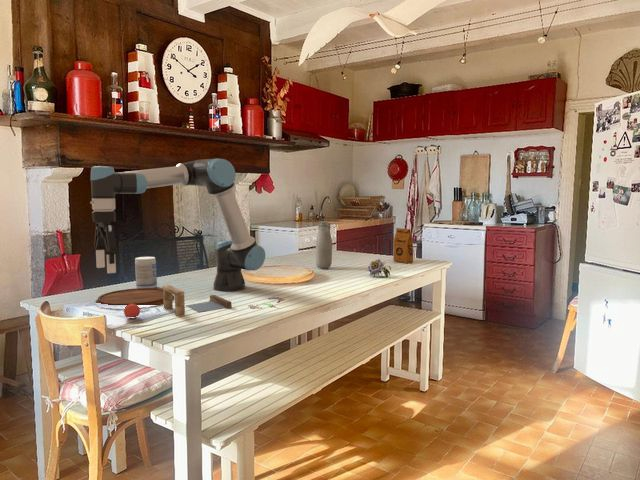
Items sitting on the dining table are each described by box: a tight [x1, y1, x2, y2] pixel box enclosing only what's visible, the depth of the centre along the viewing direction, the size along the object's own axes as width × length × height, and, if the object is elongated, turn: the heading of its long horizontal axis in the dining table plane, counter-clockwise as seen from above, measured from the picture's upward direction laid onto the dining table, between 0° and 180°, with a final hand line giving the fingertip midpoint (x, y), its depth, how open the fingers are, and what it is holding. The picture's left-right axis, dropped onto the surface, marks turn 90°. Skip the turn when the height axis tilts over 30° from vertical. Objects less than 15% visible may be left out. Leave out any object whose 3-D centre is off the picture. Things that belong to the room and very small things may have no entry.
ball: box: [123, 304, 141, 318], centre depth 181 cm, size 6×6×6 cm
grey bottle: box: [315, 221, 333, 270], centre depth 288 cm, size 10×10×28 cm
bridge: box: [162, 284, 186, 317], centre depth 191 cm, size 3×15×9 cm, turn 38°
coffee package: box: [393, 227, 415, 264], centre depth 313 cm, size 10×12×22 cm
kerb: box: [209, 294, 233, 310], centre depth 203 cm, size 2×16×2 cm, turn 38°
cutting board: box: [94, 287, 175, 306], centre depth 210 cm, size 32×32×2 cm
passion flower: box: [365, 258, 392, 279], centre depth 266 cm, size 11×11×12 cm
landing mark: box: [185, 300, 226, 313], centre depth 200 cm, size 13×13×1 cm
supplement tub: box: [134, 256, 158, 288], centre depth 234 cm, size 10×10×15 cm
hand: (106, 270), depth 173 cm, fingers open, 13 cm apart
